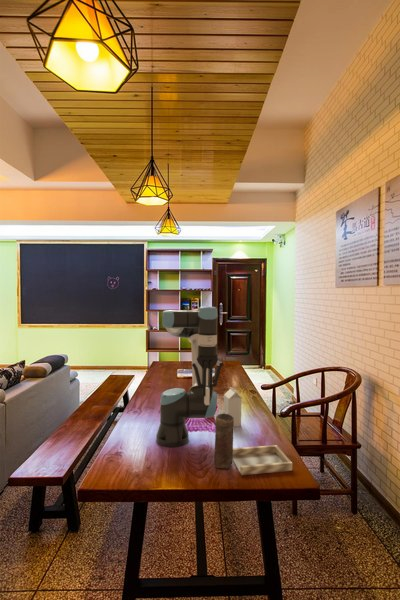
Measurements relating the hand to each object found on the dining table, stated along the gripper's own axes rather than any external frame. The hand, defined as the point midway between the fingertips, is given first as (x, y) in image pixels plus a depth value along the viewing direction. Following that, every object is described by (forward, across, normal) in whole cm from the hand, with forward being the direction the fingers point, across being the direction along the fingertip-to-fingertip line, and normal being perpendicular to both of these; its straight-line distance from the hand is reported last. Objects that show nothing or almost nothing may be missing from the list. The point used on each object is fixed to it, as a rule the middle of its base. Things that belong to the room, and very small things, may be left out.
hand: (206, 403), depth 130 cm
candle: (+25, +7, -1) cm, 26 cm away
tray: (+25, +22, -1) cm, 34 cm away
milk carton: (+25, +23, +38) cm, 51 cm away
